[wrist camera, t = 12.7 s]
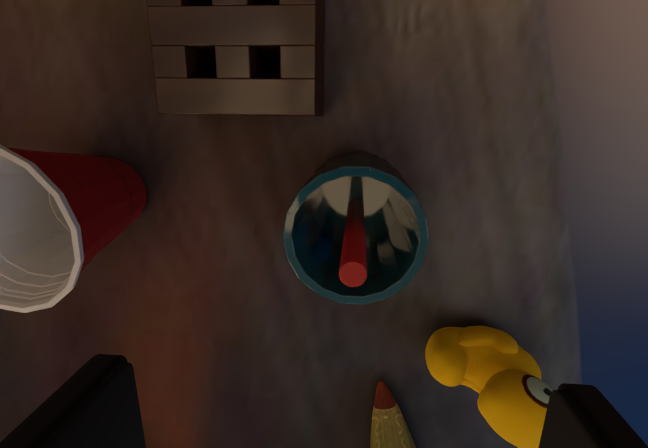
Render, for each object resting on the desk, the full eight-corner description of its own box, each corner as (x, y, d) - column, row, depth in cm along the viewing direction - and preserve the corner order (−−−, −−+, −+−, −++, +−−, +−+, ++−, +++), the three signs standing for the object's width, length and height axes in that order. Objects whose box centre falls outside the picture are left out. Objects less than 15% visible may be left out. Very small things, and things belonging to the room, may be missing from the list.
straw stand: (184, -33, 28) (138, -73, 22) (325, -36, 27) (316, -78, 21) (195, 114, 30) (157, 113, 25) (323, 116, 30) (315, 115, 24)
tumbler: (305, 150, 30) (281, 164, 21) (411, 152, 30) (436, 168, 20) (305, 246, 33) (283, 300, 23) (403, 251, 32) (422, 308, 22)
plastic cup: (50, 229, 34) (-105, 285, 23) (64, 112, 31) (-107, 109, 20) (162, 267, 34) (64, 343, 23) (187, 155, 31) (88, 177, 20)
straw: (347, 198, 31) (339, 260, 17) (363, 198, 30) (367, 262, 17) (347, 213, 31) (338, 286, 18) (363, 214, 31) (366, 288, 17)
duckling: (555, 338, 33) (635, 429, 23) (528, 387, 34) (593, 491, 25) (431, 299, 33) (461, 374, 23) (409, 350, 34) (429, 439, 25)
